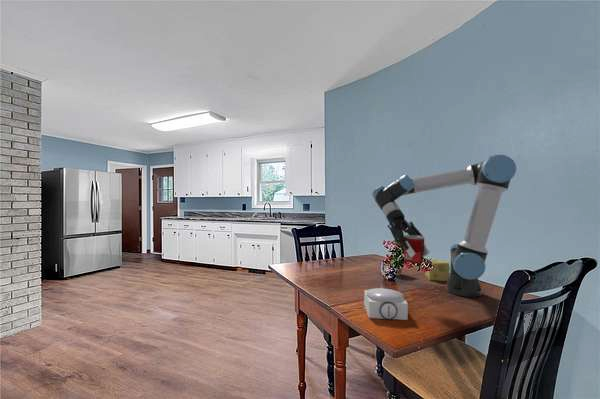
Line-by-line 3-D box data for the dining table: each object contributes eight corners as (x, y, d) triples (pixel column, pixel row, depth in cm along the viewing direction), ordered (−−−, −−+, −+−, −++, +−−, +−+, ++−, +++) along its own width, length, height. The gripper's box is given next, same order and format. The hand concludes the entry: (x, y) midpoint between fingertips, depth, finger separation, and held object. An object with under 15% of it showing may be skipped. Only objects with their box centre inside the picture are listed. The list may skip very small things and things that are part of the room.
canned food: (425, 264, 122) (426, 238, 122) (405, 263, 124) (405, 237, 124) (421, 260, 130) (422, 235, 129) (402, 259, 131) (403, 234, 131)
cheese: (429, 280, 161) (429, 262, 161) (424, 275, 172) (424, 258, 172) (449, 281, 160) (449, 263, 160) (443, 276, 170) (443, 259, 170)
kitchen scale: (398, 305, 122) (398, 289, 122) (408, 321, 107) (408, 301, 107) (364, 304, 123) (364, 287, 123) (369, 319, 108) (369, 300, 108)
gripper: (404, 218, 145) (431, 258, 131) (372, 219, 135) (397, 261, 121) (413, 208, 140) (442, 248, 126) (380, 208, 131) (407, 251, 116)
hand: (420, 254), depth 124 cm, fingers closed on canned food, 8 cm apart
